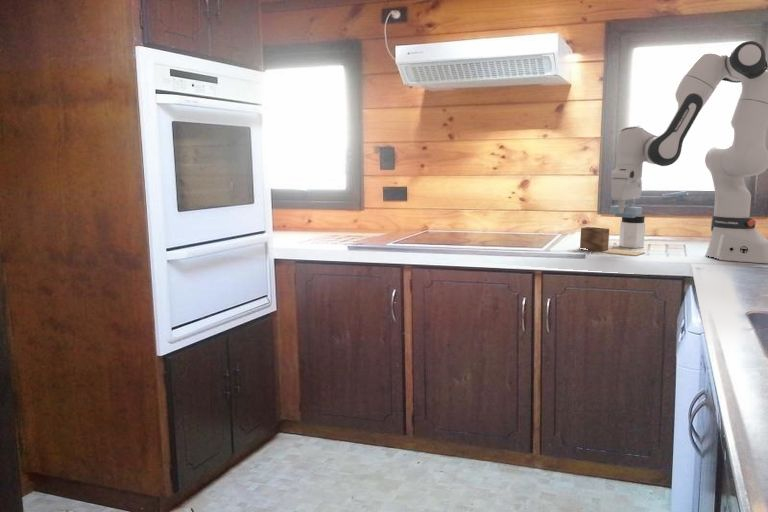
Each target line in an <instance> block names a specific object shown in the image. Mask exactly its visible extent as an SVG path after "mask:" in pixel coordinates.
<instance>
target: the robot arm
mask: <svg viewBox="0 0 768 512" xmlns="http://www.w3.org/2000/svg"><path fill="white" fill-rule="evenodd" d="M767 69H768V62H767V56H766V51H765V49H764V46H762V44H761V43H759V42H757V41H753V40H746V41H742V42H740V43H738V44H736V45H735V46H734V47H733V48H731V50H730V51H729V52H728V53H727V54H724V55H723V54H722V55H720V54H719V53H717V52H714V51H713V52H712V51H707V52H703V53H702V54H701V55H700V56H699V57H698V58H697V59H696V60H695V61H694V62H693V63H692V64H691V66H690V67H689V69H688V70H687V71H686V73H685V74H684V76H683V77H682V79H681V81H680V82H679V84H678V86H677V88H676V91H675V100H676V102H677V104H678V105H677V106H678V107H677V110H676V113H675V114H674V116H673V118H672V120H671V122H670V123H669V125H668V126H667V129H665V131H664V132H663V133H662V134H661V135H657V134H655V133H653V132H651V131H649V130H647V129H646V128H644V127H643V126H641V125H635V126H629V127H624V128H622V129H621V130H620V132H619V134H618V139H617V147H616V153H617V160H616V162H615V167H614V169H613V170H612V171H611V172H610V178H611V179H612V180H611V182H610V183H611V185H610V187H611V189H610V193H611V199H612V201H617V206H619V213H624V212H625V206H626V201H627V206H630V207H635V203H636V199H641V197H642V190H643V187H642V185H643V184H642V183H643V180H642V177H643V175H642V174H643V163H645V162H646V163H648V164H651V165H658V166H660V167H667V166H672V165H673V164H674V163H675V162H677V161H678V159H679V158H680V155H681V153H682V148H683V143H684V139H685V138H686V136H687V134H688V133H689V131H690V129H691V127H692V126H693V123H694V122H695V121H696V118H697V117H698V115H699V113H700V112H701V111H702V109H703V108H704V106H705V104H706V103H707V102H708V101H709V99H710V97H712V95H713V93H714V92H715V90H716V88H718V85H719V84H720V83H721V81H725V82H729V83H737V84H738V83H740V84H741V93H740V96H739V98H738V100H737V103H736V106H735V109H734V112H733V115H732V117H731V121H730V124H731V127H732V128H733V130H734V131H733V141H732V143H721V144H718V145H714V146H713V147H711V148H710V149H709V150H708V151H707V153H706V155H705V159H704V162H705V163H704V164H705V166H706V168H707V170H708V171H709V172H710V174H711V178H712V182H713V186H714V208H713V215H712V216H711V217H712V218H711V221H710V222H711V223H710V231H711V235H710V238H709V244H708V247H707V249H706V253H705V257H708V256H709V257H708V258H711V257H714V258H713V259H715V258H717V259H716V260H718V259H719V260H718V261H729V262H741V263H742V262H743V263H755V264H757V263H758V264H768V239H767V238H766V237H765V236H764V235H762V233H760V232H759V231H758V230H756V229H755V228H756V223H757V220H756V219H753V218H752V217H750V215H751V203H752V194H751V192H750V191H749V189H748V188H747V185H746V182H745V178H744V177H747V178H748V177H755V176H758V175H760V174H763V173H765V171H766V170H767V169H768V149H767V145H766V136H767V134H766V133H767V128H768V70H767Z"/></svg>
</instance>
